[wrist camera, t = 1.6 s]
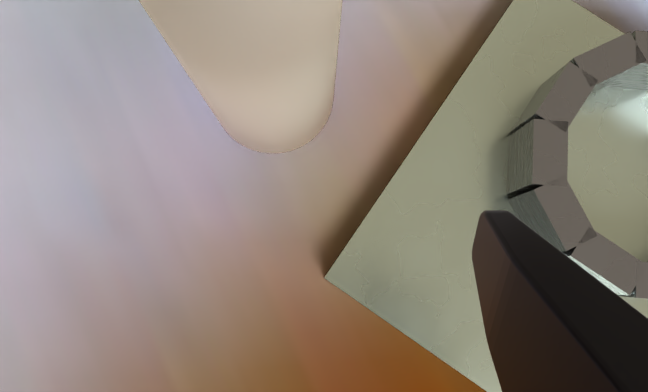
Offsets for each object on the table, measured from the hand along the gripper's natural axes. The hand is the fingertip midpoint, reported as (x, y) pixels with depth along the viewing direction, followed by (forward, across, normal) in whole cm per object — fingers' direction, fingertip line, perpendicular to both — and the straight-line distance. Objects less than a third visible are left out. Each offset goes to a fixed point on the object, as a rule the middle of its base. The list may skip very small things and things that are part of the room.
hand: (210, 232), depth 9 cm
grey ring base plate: (+10, -12, +8) cm, 17 cm away
